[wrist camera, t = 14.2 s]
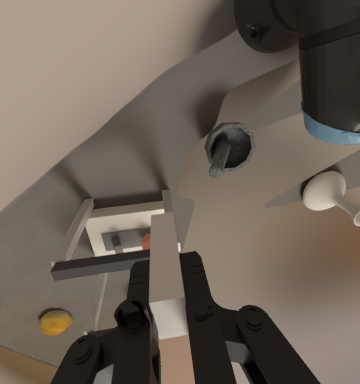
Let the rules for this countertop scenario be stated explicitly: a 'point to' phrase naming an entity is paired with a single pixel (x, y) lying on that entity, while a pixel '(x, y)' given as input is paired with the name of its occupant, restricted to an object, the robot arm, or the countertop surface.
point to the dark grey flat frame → (98, 268)
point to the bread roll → (55, 322)
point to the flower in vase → (329, 194)
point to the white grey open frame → (110, 238)
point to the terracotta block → (146, 241)
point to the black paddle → (117, 245)
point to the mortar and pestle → (228, 148)
